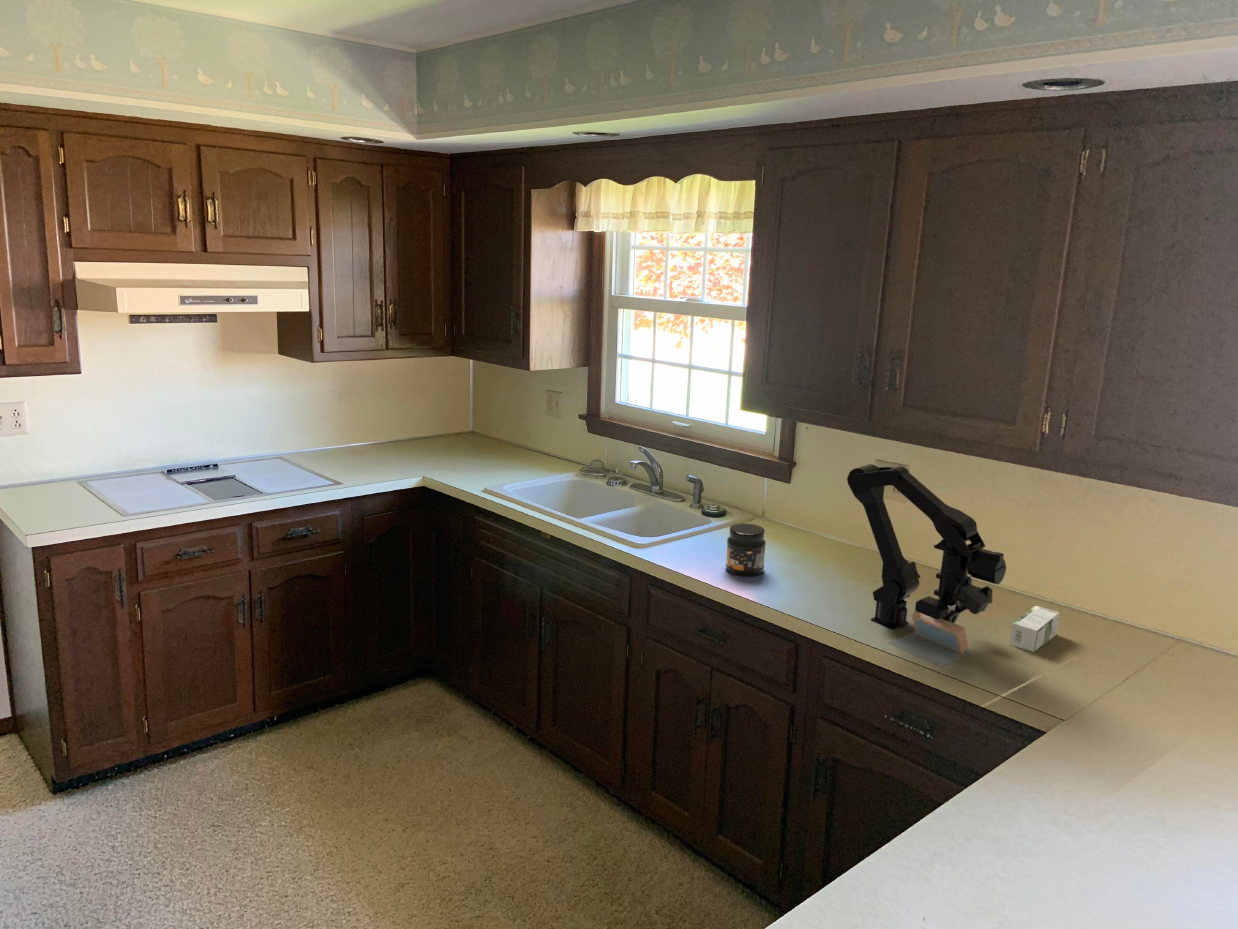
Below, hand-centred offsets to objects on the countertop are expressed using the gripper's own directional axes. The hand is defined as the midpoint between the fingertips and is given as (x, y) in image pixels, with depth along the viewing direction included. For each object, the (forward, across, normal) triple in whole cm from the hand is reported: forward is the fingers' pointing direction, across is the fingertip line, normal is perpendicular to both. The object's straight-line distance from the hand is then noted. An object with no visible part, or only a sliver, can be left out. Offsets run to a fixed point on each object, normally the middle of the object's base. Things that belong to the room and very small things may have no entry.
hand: (946, 634), depth 207 cm
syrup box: (-1, +11, -12) cm, 17 cm away
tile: (+1, -2, 0) cm, 2 cm away
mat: (+2, -6, 0) cm, 6 cm away
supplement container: (+2, -6, +58) cm, 58 cm away
